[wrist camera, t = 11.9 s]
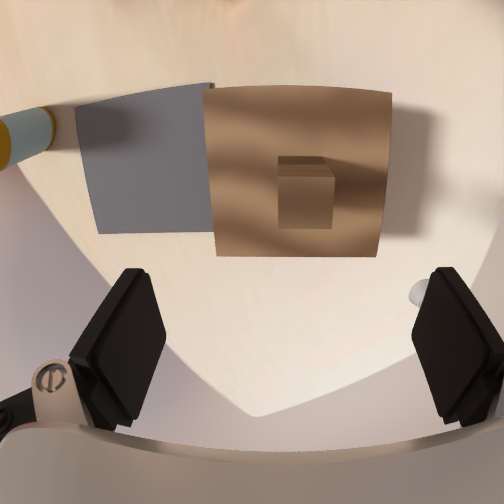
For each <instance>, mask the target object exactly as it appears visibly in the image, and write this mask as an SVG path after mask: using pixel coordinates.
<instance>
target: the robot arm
mask: <svg viewBox="0 0 504 504" xmlns="http://www.w3.org/2000/svg"><path fill="white" fill-rule="evenodd" d="M165 341H166V331H165V328H164V324H163V321H162V318H161V314H160V311H159V308H158V304H157V301H156V297H155V294H154V290H153V286H152V283H151V279H150V276H149V274H148V273H145V271H144V270H143V269H142V268H127V269H125V270H124V271H123V273H122V274H121V276H120V277H119V278H118V280H117V281H116V283H115V284H114V286H113V287H112V289H111V290H110V292H109V293H108V295H107V296H106V298H105V299H104V300H103V302H102V303H101V305H100V306H99V308H98V310H97V311H96V313H95V314H94V316H93V317H92V319H91V321H90V322H89V324H88V325H87V327H86V328H85V330H84V331H83V333H82V335H81V336H80V338H79V340H78V341H77V343H76V344H75V346H74V348H73V349H72V351H71V353H70V354H69V356H70V359H69V361H68V363H67V362H65V361H63V360H60V359H54V360H50V361H48V362H45V363H43V364H42V365H41V366H40V367H38V368H37V370H36V371H35V373H34V374H33V377H32V382H31V386H32V387H31V388H29V389H27V390H25V391H22V392H20V393H18V394H16V395H14V396H12V397H9V398H7V399H5V400H3V401H1V402H0V504H504V342H503V340H502V339H501V337H500V335H499V334H498V332H497V330H496V329H495V327H494V326H493V324H492V322H491V321H490V319H489V318H488V316H487V314H486V313H485V311H484V310H483V309H482V307H481V306H480V304H479V302H478V301H477V300H476V298H475V297H474V295H473V294H472V292H471V291H470V289H469V288H468V287H467V285H466V284H465V282H464V281H463V280H462V278H461V277H460V276H459V274H458V273H457V272H456V270H455V269H454V268H453V267H438V268H437V269H436V270H435V272H432V274H431V276H430V279H429V282H428V286H427V289H426V292H425V295H424V298H423V301H422V304H421V307H420V310H419V313H418V316H417V318H416V321H415V324H414V327H413V329H412V341H413V344H414V346H415V349H416V352H417V354H418V357H419V359H420V362H421V365H422V368H423V370H424V373H425V376H426V379H427V382H428V385H429V387H430V391H431V393H432V396H433V400H434V402H435V406H436V409H437V412H438V414H439V416H440V417H443V421H444V424H449V423H453V422H457V421H458V420H459V421H460V425H461V426H460V428H459V429H456V430H452V431H448V432H444V433H440V434H436V435H432V436H427V437H422V438H418V439H413V440H408V441H402V442H396V443H390V444H384V445H377V446H369V447H360V448H351V449H341V450H327V451H307V452H260V451H259V452H258V451H239V450H224V449H213V448H204V447H195V446H187V445H181V444H173V443H167V442H162V441H156V440H151V439H145V438H140V437H135V436H130V435H125V434H121V433H116V432H115V429H116V426H117V424H118V425H122V426H127V427H131V425H132V422H133V420H136V419H137V418H138V416H139V414H140V410H141V408H142V405H143V402H144V399H145V396H146V394H147V391H148V388H149V385H150V382H151V380H152V377H153V374H154V371H155V369H156V366H157V363H158V360H159V358H160V355H161V352H162V350H163V347H164V344H165Z"/></svg>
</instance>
